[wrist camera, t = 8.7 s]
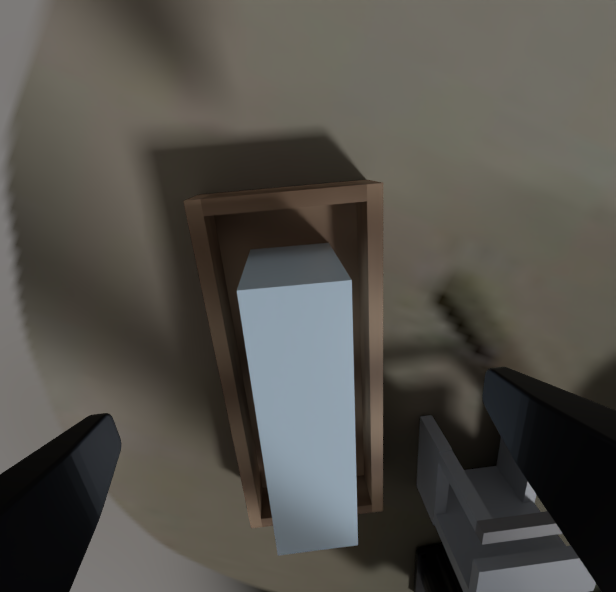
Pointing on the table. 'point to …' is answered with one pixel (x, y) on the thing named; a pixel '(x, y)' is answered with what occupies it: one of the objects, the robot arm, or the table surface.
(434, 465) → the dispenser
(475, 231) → the table surface
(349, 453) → the pale blue rectangular pillar
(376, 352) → the tray
